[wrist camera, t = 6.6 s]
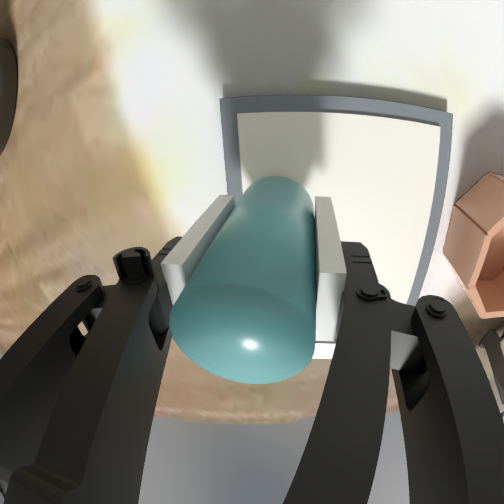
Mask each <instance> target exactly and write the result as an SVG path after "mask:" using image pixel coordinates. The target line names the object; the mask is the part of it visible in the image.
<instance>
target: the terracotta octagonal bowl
mask: <svg viewBox="0 0 504 504" xmlns="http://www.w3.org/2000/svg"><path fill="white" fill-rule="evenodd" d="M455 204H456V206H455V205H454V206H453V211H452V216H451V220H450V225H449V229H448V233H447V237H446V241H445V245H444V249H443V252H444V253H443V254H444V256H445V257H446V259H447V261H448V263H449V264H450V266H451V268H452V270H453V272H454V273H455V275H456V277H457V279H458V281H459V283H460V284H461V286H462V287H463V289H464V291H465V292H466V294H467V296H468V297H469V299H470V301H471V303H472V304H473V306H474V308H475V310H476V311H477V313H478V315H479V317H480V318H481V319H485V318H496V317H504V176H501V175H497V174H493V173H488V174H487V173H486V174H485V175H484V176H483V177H482V178H481V179H480V180H479V181H478V182H477V183H476V184H475V185H474V186H473V187H472V188H471V189H470V190H469V191H468V192H466V193H465V194H464V195H463V196H462V197H461V198H460V199H459V200H458V201H457V202H456V203H455Z"/></svg>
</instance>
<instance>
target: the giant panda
mask: <svg viewBox="0 0 504 504" xmlns="http://www.w3.org/2000/svg"><path fill="white" fill-rule="evenodd" d="M478 345H479V346H480V347H481V348H485V349H486V352H487V355H488V358H489V361H490V364H491V368H492V371H493V375H494V377H493V378H492V379H491V381H490V385H491V388H492V390H493V393H494V396H495V398H496V401H497V404H498V407H499V410H500V413H501V416H502V420H503V418H504V336H503V337H502V338H501V339H500V337H499V336H498V334H497V333H496V332H495V330H490V331H489V332H488V333H487V334H486V335H485V336H484V338H483V339H482V340H481V341H480V342H479V344H478Z"/></svg>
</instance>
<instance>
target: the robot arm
mask: <svg viewBox="0 0 504 504" xmlns="http://www.w3.org/2000/svg"><path fill="white" fill-rule="evenodd" d="M16 91H17V68H16V59H15V54H14V51H13V48H12V46H11V44H10V43H9V42H8V41H7V40H5V39H0V155H1V153H2V152H3V150H4V148H5V146H6V143H7V141H8V138H9V134H10V131H11V127H12V122H13V117H14V111H15V103H16ZM234 207H235V198H234V195H219V196H218V198H217V199H216V200H215V201H214V202H213V203H212V204H211V205H210V206H209V208H208V209H207V210H206V211H205V212H204V213H203V214H202V215H201V217H200V218H199V219H198V220H197V221H196V222H195V223H194V225H193V226H192V227H191V228H190V229H189V230H188V231H187V233H186V234H185V235H184V236H183V237H176V238H174V239H172V240H170V241H169V242H167V243H166V245H165V246H164V247H163V248H162V250H160V251H159V252H158V255H156V256H155V257H154V258H153V259H152V260H151V256H150V252H149V251H148V249H146V248H143V247H134V248H129V249H126V250H123V251H121V252H119V253H118V254H116V255H115V256H114V257H113V261H114V264H115V267H116V270H117V273H118V276H119V281H118V283H117V284H116V285H109V286H102V283H101V280H100V278H99V277H98V276H96V275H86V276H82V277H81V278H79V279H77V280H76V281H75V282H73V283H72V284H71V285H70V286H69V287H68V288H67V289H66V290H65V291H64V292H63V293H62V294H61V295H60V296H59V297H58V298H57V299H55V300H54V301H53V302H52V303H51V304H50V305H49V306H48V307H47V309H46V310H45V311H44V312H43V313H42V314H41V315H40V316H39V317H38V318H37V319H36V320H35V321H34V322H33V323H32V324H31V325H30V326H29V327H28V328H27V330H26V331H25V332H24V333H23V334H22V335H21V336H20V337H19V338H18V339H17V341H16V342H15V343H14V344H13V345H12V346H11V347H10V349H9V350H8V351H7V352H6V353H5V354H4V356H3V357H2V358H1V359H0V504H138V500H139V493H140V487H141V480H142V474H143V468H144V462H145V457H146V451H147V445H148V440H149V435H150V430H151V425H152V420H153V416H154V411H155V406H156V402H157V397H158V393H159V388H160V384H161V380H162V375H163V371H164V367H165V363H166V359H167V355H168V351H169V347H170V343H171V339H172V333H171V329H170V323H169V319H170V313H171V309H172V307H173V305H174V304H175V302H176V300H177V299H178V297H179V295H180V294H181V292H182V290H183V289H184V287H185V285H186V284H187V282H188V280H189V279H190V277H191V275H192V274H193V272H194V271H195V269H196V267H197V266H198V264H199V262H200V261H201V259H202V258H203V256H204V254H205V253H206V251H207V250H208V248H209V246H210V245H211V243H212V242H213V240H214V239H215V237H216V235H217V234H218V232H219V231H220V229H221V228H222V226H223V224H224V223H225V221H226V220H227V218H228V217H229V215H230V214H231V212H232V211H233V209H234ZM314 220H315V247H316V341H335V337H336V334H337V340H336V345H335V349H334V353H333V357H332V361H331V365H330V369H329V373H328V376H327V380H326V384H325V387H324V391H323V394H322V398H321V401H320V404H319V408H318V411H317V414H316V417H315V421H314V424H313V427H312V430H311V433H310V436H309V439H308V441H307V444H306V447H305V450H304V453H303V455H302V458H301V461H300V464H299V466H298V469H297V471H296V474H295V476H294V479H293V481H292V484H291V486H290V488H289V491H288V493H287V496H286V498H285V500H284V503H283V504H367V502H368V499H369V495H370V491H371V487H372V483H373V479H374V475H375V470H376V466H377V461H378V457H379V451H380V446H381V440H382V434H383V428H384V421H385V414H386V405H387V396H388V386H389V373H390V368H392V374H393V378H394V383H395V388H396V393H397V398H398V404H399V409H400V415H401V421H402V427H403V434H404V441H405V449H406V458H407V468H408V480H409V496H410V504H504V423H503V420H502V416H501V413H500V410H499V407H498V404H497V401H496V398H495V396H494V393H493V390H492V388H491V385H490V382H489V380H488V377H487V375H486V373H485V370H484V368H483V365H482V363H481V361H480V359H479V356H478V354H477V352H476V350H475V348H474V346H473V343H472V341H471V339H470V337H469V335H468V333H467V331H466V329H465V327H464V325H463V323H462V322H461V320H460V318H459V316H458V314H457V312H456V310H455V309H454V307H453V306H452V305H451V304H450V303H449V302H448V301H447V300H445V299H444V298H441V297H439V296H433V295H427V296H422V297H421V298H420V299H418V301H417V303H416V306H412V305H408V304H404V303H400V302H397V301H395V300H393V299H391V295H390V292H389V291H388V290H387V288H386V287H385V286H383V285H381V284H379V281H378V278H377V275H376V272H375V269H374V266H373V264H372V260H371V258H370V254H369V251H368V249H367V248H366V247H365V246H364V245H363V244H362V243H361V242H346V241H340V236H339V231H338V226H337V222H336V217H335V213H334V209H333V204H332V200H331V197H323V196H315V217H314ZM81 321H82V322H83V324H84V325H85V327H86V329H87V331H88V333H87V334H86V335H85V336H83V335H82V334H81V332H80V330H79V328H78V325H79V324H80V322H81Z"/></svg>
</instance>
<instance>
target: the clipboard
mask: <svg viewBox="0 0 504 504" xmlns="http://www.w3.org/2000/svg"><path fill="white" fill-rule="evenodd" d="M220 110H221V123H222V135H223V147H224V158H225V170H226V181H227V192H228V195H234V198H235V206H236V204H237V203H238V201H239V200H240V198H241V197H242V195H243V194H244V192H245V191H246V190H247V188H248V187H249V186H250V185H251V184H253V183H254V182H256V181H257V180H259V179H262V178H265V177H270V176H281V177H286V178H289V179H291V180H293V181H295V182H297V183H298V184H300V185H301V186H302V187H303V188H304V189H305V190H306V191H307V192H308V194H309V195H310V197H311V199H312V202H313V206H314V217H315V196H323V197H331V200H332V204H333V209H334V213H335V217H336V222H337V226H338V231H339V236H340V241H346V242H361V243H362V244H363V245H364V246H365V247H366V248H367V249H368V251H369V254H370V258H371V260H372V264H373V266H374V269H375V272H376V275H377V278H378V281H379V284H381V285H383V286H385V287H386V288H387V290H388V291H389V292H390V295H391V299H393V300H395V301H397V302H400V303H404V304H408V305H412V306H416V303H417V300H418V297H419V295H420V292H421V289H422V286H423V282H424V279H425V276H426V273H427V269H428V266H429V263H430V259H431V255H432V252H433V248H434V244H435V240H436V236H437V232H438V227H439V223H440V218H441V213H442V208H443V203H444V197H445V191H446V185H447V178H448V170H449V162H450V152H451V140H452V123H453V114H452V113H448V112H443V111H439V110H435V109H430V108H425V107H420V106H415V105H409V104H403V103H397V102H390V101H383V100H375V99H366V98H356V97H344V96H327V95H261V96H244V97H232V98H221V99H220ZM336 340H337V334H336V337H335V341H316V343H315V352H314V355H313V357H312V358H322V359H332V357H333V353H334V349H335V345H336Z"/></svg>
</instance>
